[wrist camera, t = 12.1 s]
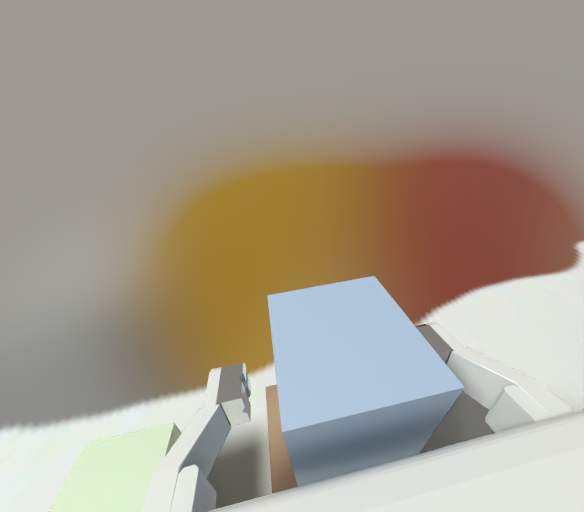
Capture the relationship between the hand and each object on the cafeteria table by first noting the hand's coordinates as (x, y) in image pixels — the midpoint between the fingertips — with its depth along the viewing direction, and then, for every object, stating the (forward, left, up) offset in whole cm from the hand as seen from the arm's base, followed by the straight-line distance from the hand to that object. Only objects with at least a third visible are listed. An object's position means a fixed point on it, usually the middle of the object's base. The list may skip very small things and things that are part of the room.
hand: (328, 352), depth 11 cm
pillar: (+1, +1, -7) cm, 7 cm away
